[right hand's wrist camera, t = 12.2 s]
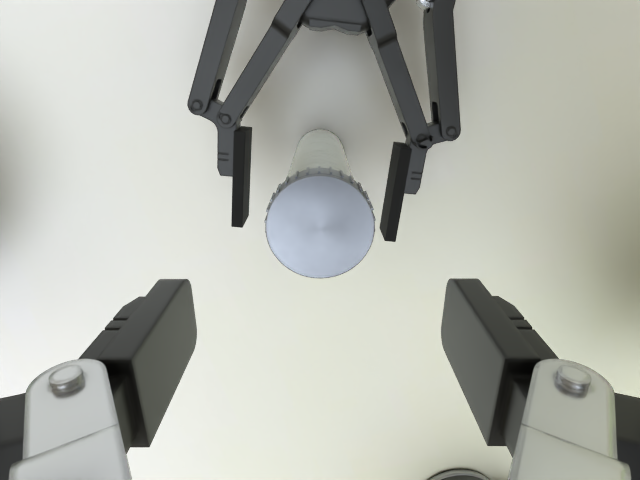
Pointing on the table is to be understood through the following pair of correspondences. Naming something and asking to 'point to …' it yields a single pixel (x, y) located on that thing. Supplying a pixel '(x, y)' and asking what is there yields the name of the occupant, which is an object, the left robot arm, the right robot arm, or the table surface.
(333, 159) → the grey long cylinder
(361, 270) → the table surface
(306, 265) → the lid
